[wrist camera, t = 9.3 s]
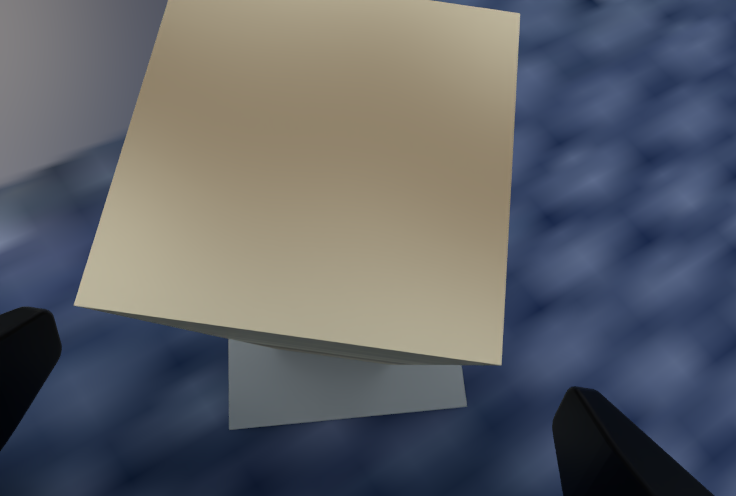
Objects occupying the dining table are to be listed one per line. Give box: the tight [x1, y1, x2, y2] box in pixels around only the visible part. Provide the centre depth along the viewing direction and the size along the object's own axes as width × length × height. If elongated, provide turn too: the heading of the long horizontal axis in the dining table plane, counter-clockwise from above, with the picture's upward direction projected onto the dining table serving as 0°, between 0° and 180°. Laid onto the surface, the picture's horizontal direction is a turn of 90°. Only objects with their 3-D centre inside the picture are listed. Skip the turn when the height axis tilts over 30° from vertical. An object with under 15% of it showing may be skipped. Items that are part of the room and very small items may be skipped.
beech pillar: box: [74, 0, 520, 365], centre depth 11 cm, size 4×4×13 cm
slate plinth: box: [228, 339, 467, 430], centre depth 18 cm, size 9×9×2 cm
